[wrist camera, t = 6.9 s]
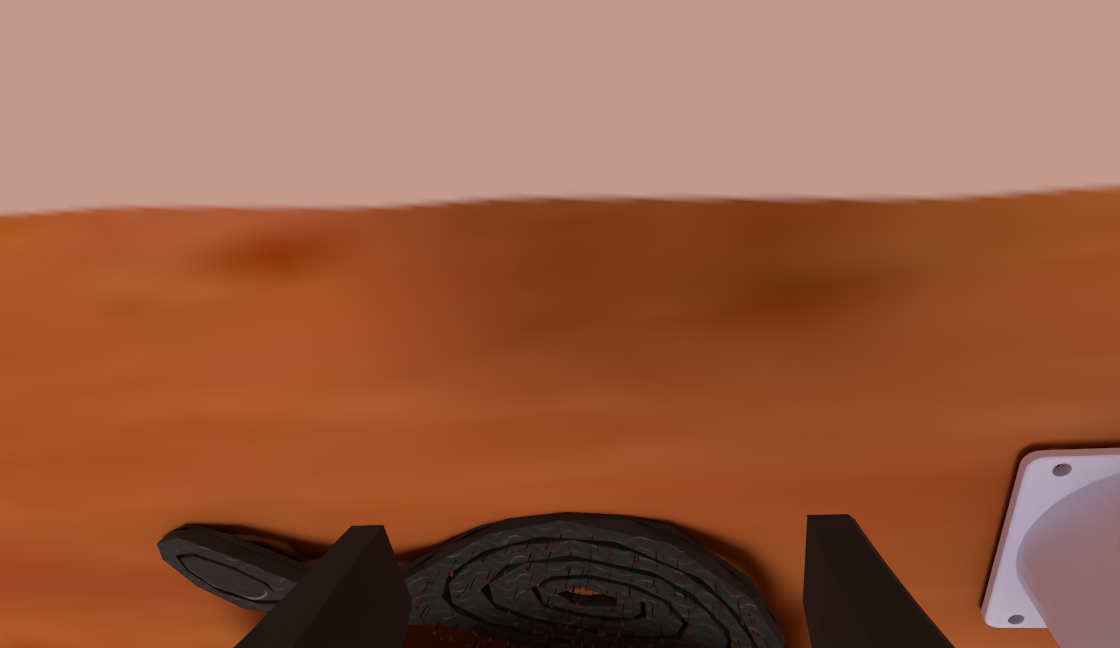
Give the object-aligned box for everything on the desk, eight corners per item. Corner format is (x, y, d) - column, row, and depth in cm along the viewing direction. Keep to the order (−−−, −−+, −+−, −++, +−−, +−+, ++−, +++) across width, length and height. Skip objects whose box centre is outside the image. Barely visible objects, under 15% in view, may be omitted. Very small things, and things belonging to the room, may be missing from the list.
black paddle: (85, 516, 23) (815, 623, 19) (158, 448, 26) (796, 530, 23) (155, 657, 27) (767, 764, 24) (210, 583, 30) (756, 669, 27)
